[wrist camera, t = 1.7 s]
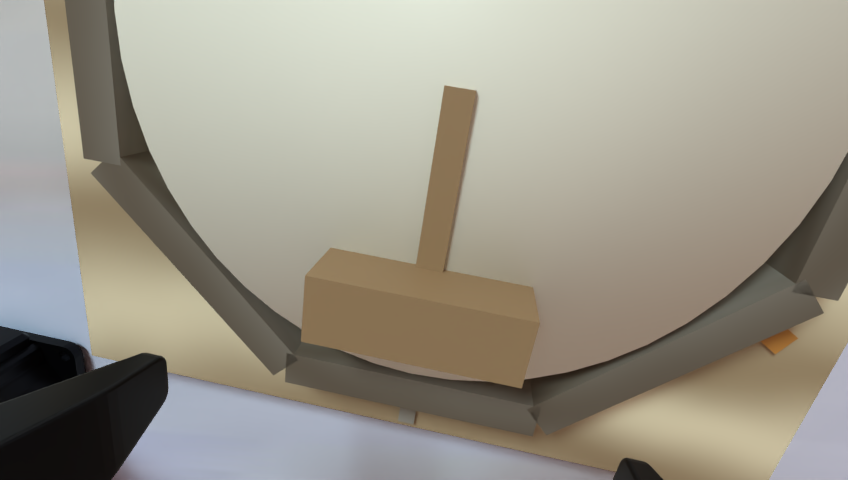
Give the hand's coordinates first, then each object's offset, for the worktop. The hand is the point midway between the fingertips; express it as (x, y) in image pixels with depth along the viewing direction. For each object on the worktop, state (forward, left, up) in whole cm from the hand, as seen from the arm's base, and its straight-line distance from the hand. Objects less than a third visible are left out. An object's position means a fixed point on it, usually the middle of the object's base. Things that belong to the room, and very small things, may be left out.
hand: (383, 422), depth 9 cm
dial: (+6, 0, -7) cm, 9 cm away
